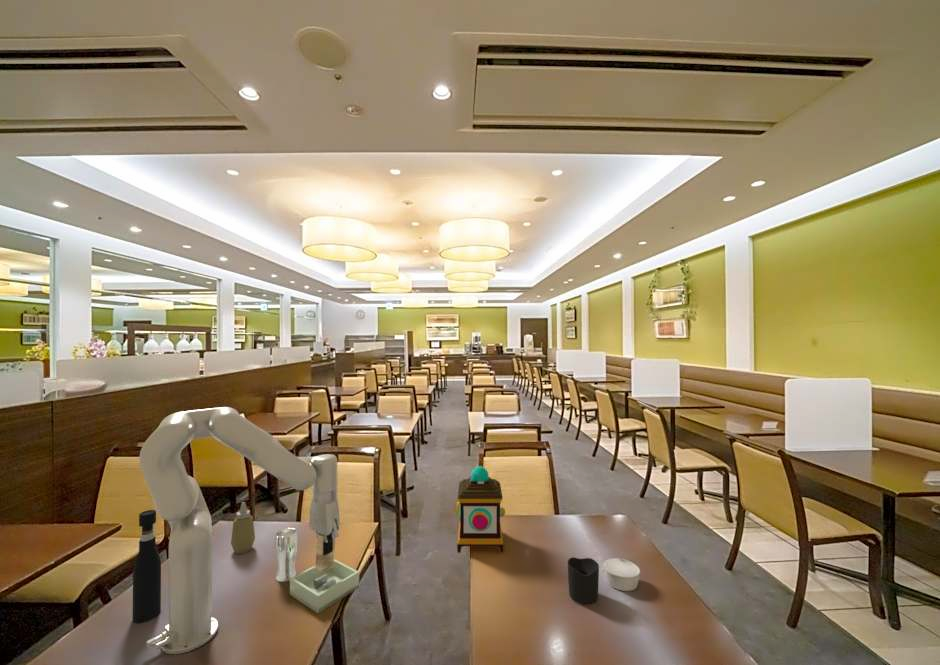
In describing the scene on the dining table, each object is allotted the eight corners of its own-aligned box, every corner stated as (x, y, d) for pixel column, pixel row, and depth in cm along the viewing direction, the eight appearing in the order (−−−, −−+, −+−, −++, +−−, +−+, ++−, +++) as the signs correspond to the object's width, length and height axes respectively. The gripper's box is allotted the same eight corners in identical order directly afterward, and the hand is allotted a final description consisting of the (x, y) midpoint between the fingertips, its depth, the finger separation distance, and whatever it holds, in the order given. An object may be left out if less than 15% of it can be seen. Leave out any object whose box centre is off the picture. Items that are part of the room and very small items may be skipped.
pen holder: (577, 583, 132) (577, 552, 132) (604, 596, 125) (604, 564, 125) (562, 596, 125) (561, 564, 125) (589, 610, 119) (589, 576, 119)
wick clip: (324, 594, 125) (324, 586, 125) (314, 587, 128) (314, 579, 128) (335, 587, 128) (335, 579, 128) (324, 581, 132) (324, 573, 132)
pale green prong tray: (318, 613, 118) (318, 596, 118) (289, 594, 127) (289, 578, 127) (359, 587, 130) (359, 571, 130) (330, 571, 139) (330, 557, 139)
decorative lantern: (507, 556, 149) (506, 474, 149) (453, 555, 149) (453, 474, 149) (503, 530, 169) (502, 458, 169) (456, 530, 169) (456, 458, 169)
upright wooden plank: (319, 573, 125) (322, 536, 126) (315, 570, 127) (317, 534, 128) (333, 566, 129) (335, 531, 130) (328, 564, 131) (331, 529, 132)
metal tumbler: (288, 584, 132) (288, 538, 132) (269, 581, 133) (270, 536, 134) (301, 572, 139) (301, 528, 139) (283, 569, 140) (283, 526, 140)
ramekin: (645, 582, 132) (645, 566, 132) (632, 598, 124) (632, 581, 124) (612, 569, 140) (612, 554, 140) (598, 583, 132) (598, 567, 132)
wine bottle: (137, 626, 113) (138, 519, 113) (128, 618, 116) (129, 514, 116) (164, 613, 118) (165, 510, 118) (155, 605, 121) (156, 506, 122)
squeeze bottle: (259, 548, 155) (259, 501, 155) (237, 557, 148) (238, 508, 148) (247, 542, 159) (248, 496, 159) (226, 551, 152) (226, 504, 152)
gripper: (300, 492, 130) (300, 549, 130) (330, 504, 121) (330, 565, 121) (320, 485, 136) (320, 540, 136) (350, 496, 127) (350, 554, 127)
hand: (325, 551), depth 129 cm, fingers closed on upright wooden plank, 2 cm apart
